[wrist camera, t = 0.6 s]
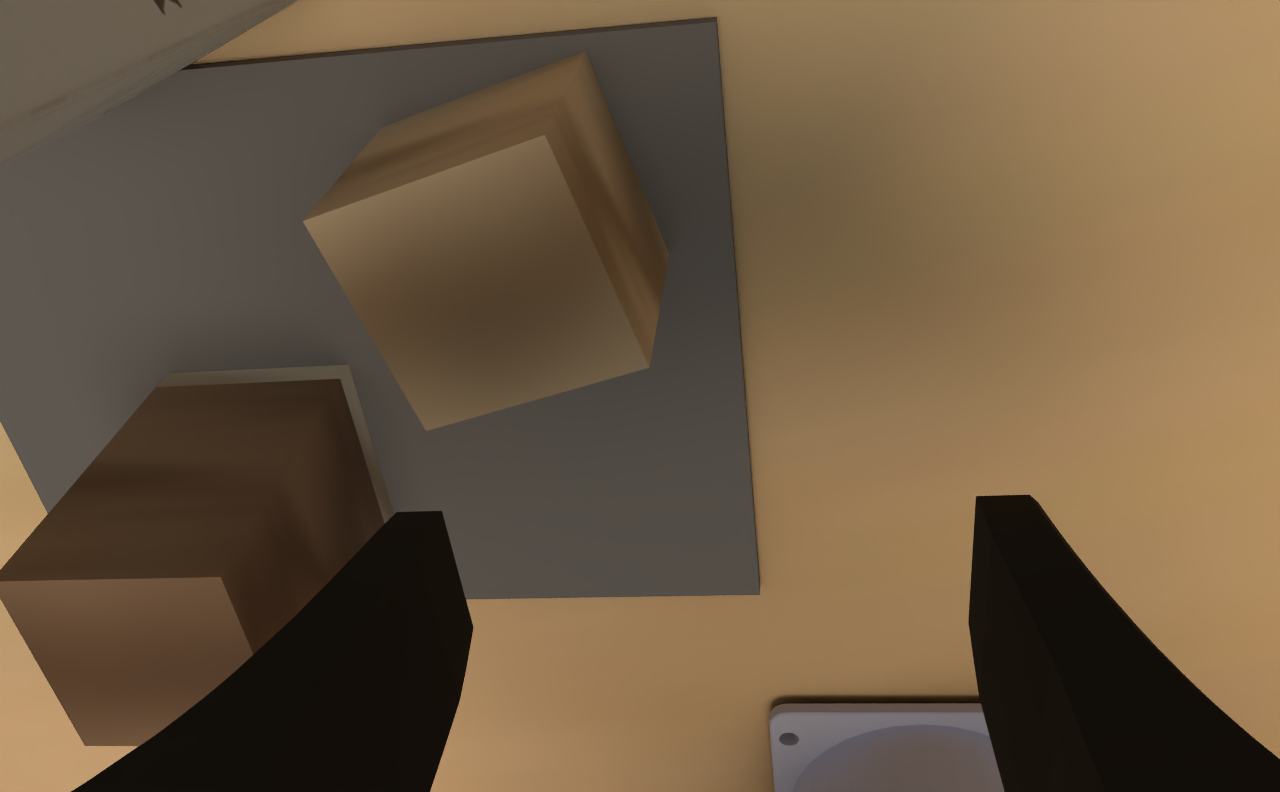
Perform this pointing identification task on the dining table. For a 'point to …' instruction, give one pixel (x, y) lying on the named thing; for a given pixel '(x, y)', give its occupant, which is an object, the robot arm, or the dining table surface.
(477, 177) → the oak cube
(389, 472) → the felt mat
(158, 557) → the walnut block
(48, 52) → the skincare box
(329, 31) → the dining table surface
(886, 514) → the dining table surface
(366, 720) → the robot arm
